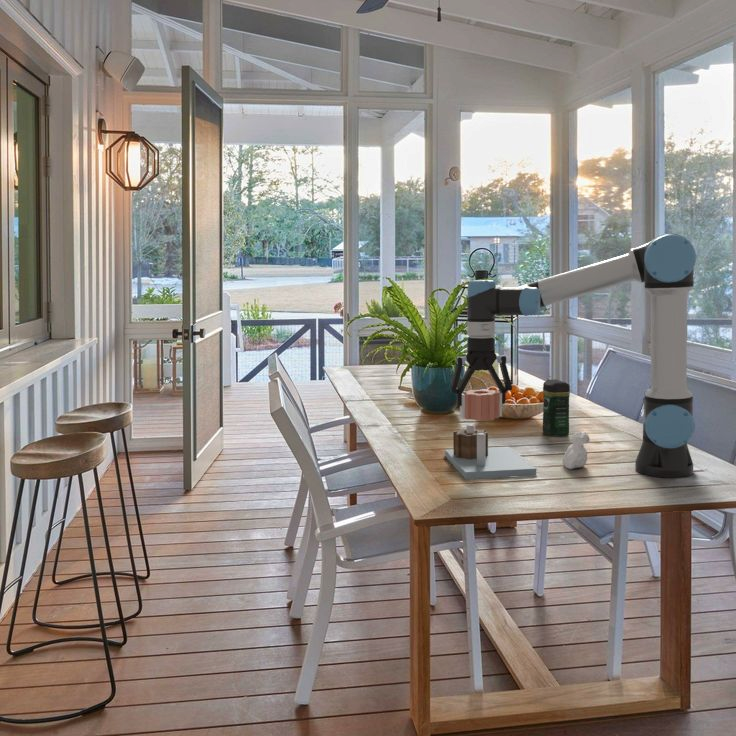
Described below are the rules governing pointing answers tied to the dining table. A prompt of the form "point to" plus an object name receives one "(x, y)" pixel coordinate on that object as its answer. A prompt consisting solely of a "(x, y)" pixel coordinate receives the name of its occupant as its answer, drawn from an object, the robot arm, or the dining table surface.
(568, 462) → the white rounded figure
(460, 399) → the robot arm
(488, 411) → the brick-red gear
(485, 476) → the slate gear board
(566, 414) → the coffee jar
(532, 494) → the dining table surface
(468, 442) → the walnut gear
